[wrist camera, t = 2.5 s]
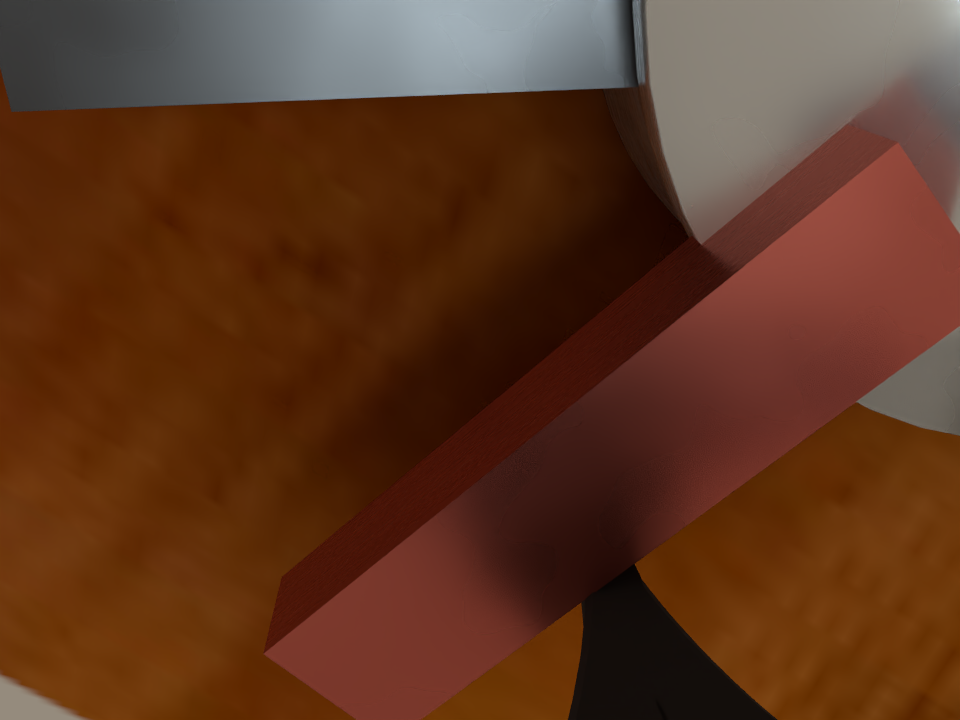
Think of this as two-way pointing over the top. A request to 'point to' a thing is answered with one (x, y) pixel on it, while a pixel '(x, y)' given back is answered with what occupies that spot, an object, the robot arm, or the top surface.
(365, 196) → the top surface
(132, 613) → the top surface
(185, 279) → the top surface
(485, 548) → the lid
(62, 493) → the top surface
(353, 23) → the pot
